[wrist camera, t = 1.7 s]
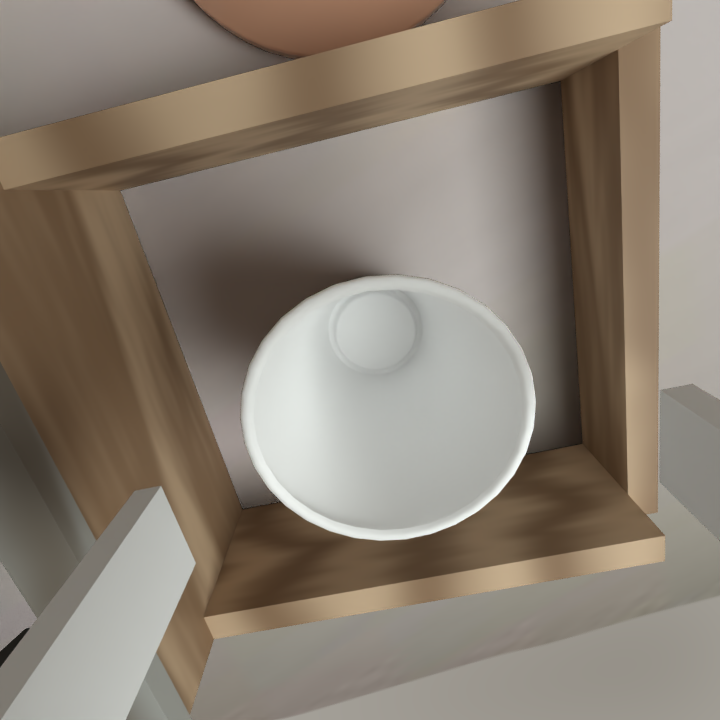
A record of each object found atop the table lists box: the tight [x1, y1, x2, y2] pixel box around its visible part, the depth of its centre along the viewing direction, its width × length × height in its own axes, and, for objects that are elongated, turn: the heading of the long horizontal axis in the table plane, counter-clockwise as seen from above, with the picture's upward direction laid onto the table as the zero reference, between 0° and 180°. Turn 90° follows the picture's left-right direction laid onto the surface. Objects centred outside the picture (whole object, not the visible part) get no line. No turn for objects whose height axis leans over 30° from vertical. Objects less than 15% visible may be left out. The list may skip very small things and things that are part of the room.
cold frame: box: [0, 0, 672, 720], centre depth 19 cm, size 25×23×13 cm
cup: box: [240, 274, 536, 541], centre depth 20 cm, size 10×10×11 cm
